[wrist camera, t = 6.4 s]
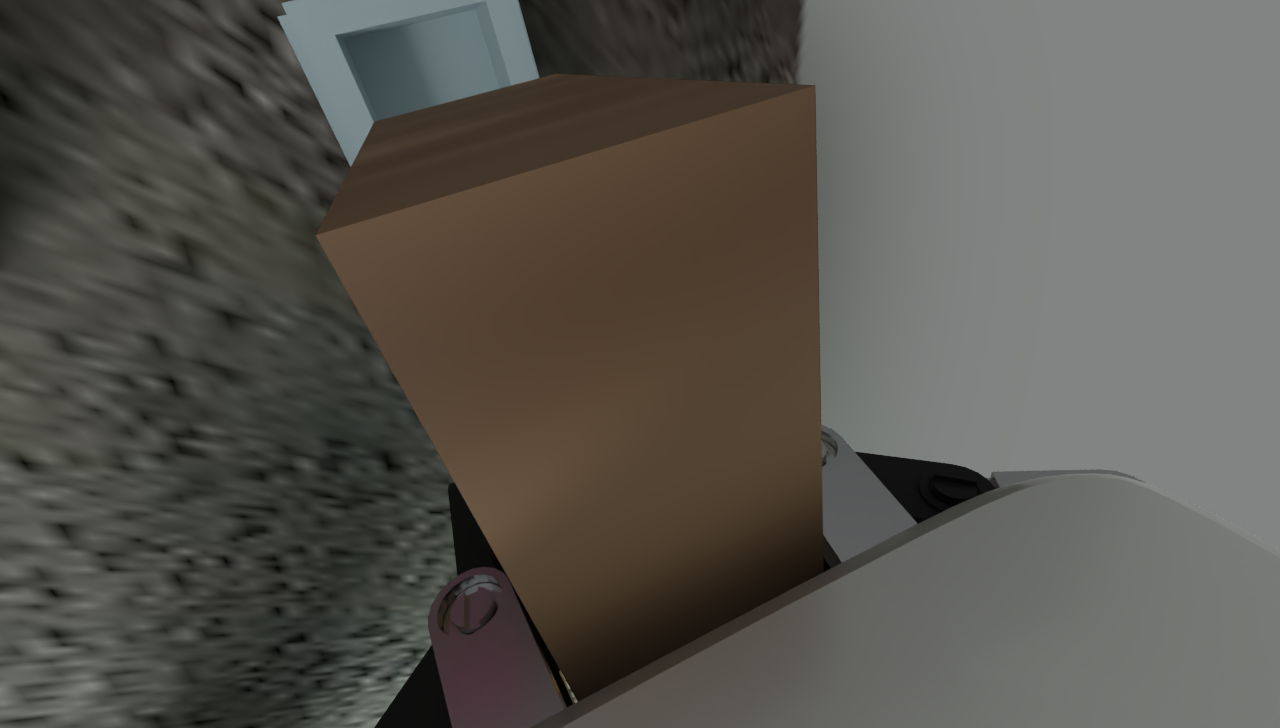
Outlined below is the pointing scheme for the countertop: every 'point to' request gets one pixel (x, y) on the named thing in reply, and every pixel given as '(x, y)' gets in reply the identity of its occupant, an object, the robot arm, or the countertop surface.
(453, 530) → the robot arm
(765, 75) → the countertop surface
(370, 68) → the tray
